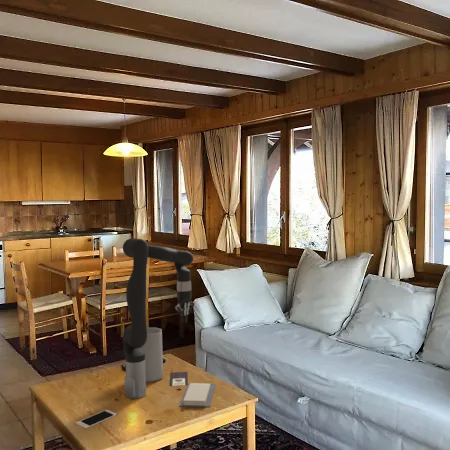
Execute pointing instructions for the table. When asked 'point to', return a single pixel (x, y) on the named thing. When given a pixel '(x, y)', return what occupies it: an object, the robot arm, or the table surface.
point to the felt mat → (207, 398)
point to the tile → (197, 394)
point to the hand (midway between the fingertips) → (184, 322)
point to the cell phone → (96, 418)
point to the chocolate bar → (178, 378)
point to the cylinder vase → (153, 355)
